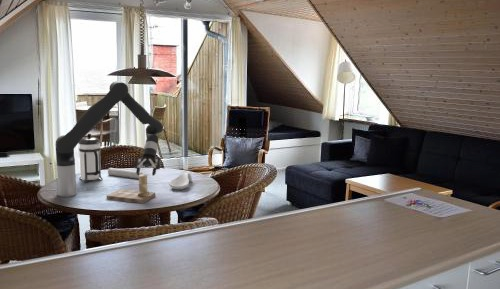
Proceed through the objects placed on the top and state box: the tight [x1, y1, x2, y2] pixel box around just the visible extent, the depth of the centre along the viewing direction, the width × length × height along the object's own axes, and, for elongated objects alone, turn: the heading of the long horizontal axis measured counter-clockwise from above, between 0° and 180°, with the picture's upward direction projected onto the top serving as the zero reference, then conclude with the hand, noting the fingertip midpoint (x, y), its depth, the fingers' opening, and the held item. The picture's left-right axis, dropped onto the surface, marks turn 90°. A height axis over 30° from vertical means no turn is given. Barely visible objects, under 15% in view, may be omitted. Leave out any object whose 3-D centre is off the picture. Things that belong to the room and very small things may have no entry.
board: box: [106, 188, 156, 204], centre depth 230 cm, size 22×14×2 cm, turn 75°
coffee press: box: [78, 133, 104, 184], centre depth 261 cm, size 17×16×30 cm
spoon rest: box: [168, 172, 193, 191], centre depth 257 cm, size 24×12×7 cm, turn 170°
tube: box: [107, 167, 144, 180], centre depth 275 cm, size 5×5×25 cm
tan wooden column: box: [138, 174, 150, 196], centre depth 229 cm, size 5×5×11 cm
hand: (145, 174), depth 233 cm, fingers open, 8 cm apart
